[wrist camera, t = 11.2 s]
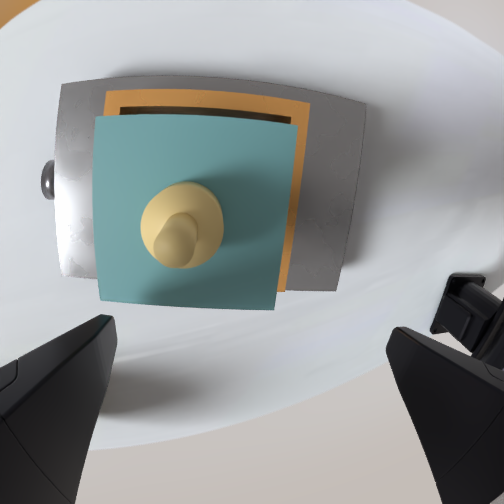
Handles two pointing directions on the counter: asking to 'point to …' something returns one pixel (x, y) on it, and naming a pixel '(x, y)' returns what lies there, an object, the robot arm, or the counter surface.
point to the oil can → (190, 209)
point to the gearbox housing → (223, 105)
